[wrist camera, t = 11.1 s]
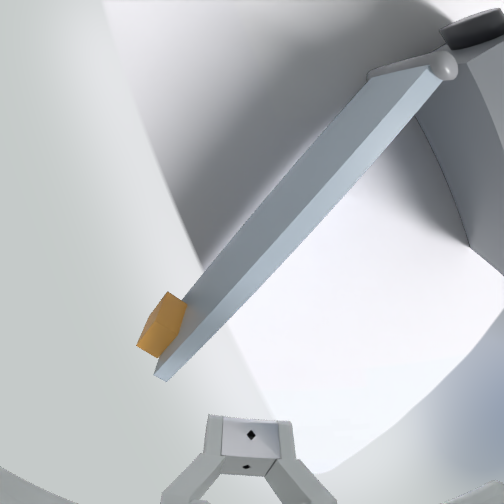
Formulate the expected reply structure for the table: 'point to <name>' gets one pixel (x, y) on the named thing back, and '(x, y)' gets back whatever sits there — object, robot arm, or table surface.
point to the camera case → (473, 129)
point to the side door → (294, 207)
